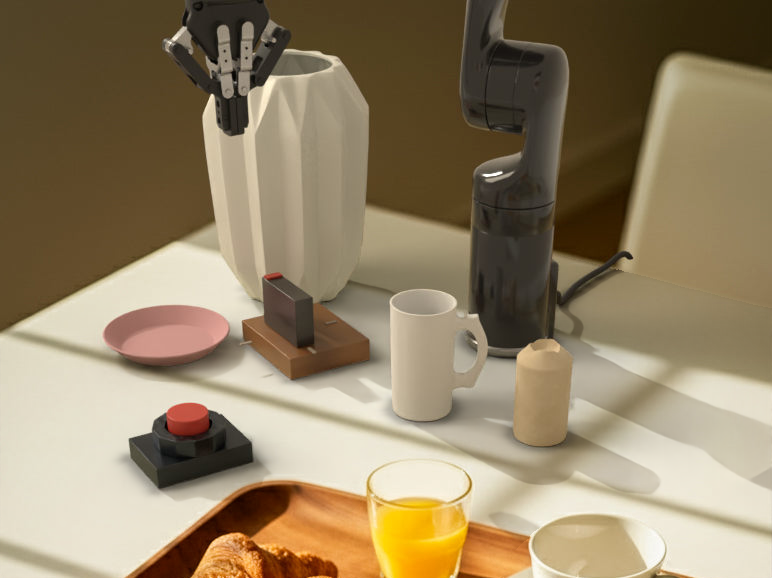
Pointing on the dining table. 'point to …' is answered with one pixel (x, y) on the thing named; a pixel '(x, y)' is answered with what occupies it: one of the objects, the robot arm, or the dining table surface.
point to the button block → (189, 451)
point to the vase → (293, 177)
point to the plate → (166, 334)
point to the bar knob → (288, 309)
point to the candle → (542, 393)
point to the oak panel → (329, 350)
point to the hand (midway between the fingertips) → (233, 133)
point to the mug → (429, 353)
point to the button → (188, 419)
